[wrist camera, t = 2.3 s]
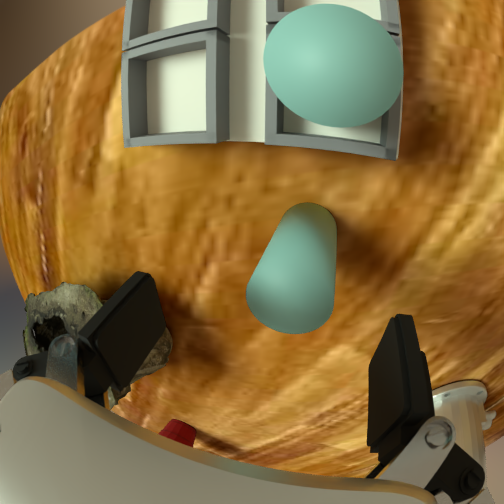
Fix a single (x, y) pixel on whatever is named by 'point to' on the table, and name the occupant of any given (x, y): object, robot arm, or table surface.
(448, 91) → the table surface
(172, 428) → the plastic cup
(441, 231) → the table surface
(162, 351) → the hollow geode rock
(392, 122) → the pin board
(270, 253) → the teal peg
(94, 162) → the table surface
